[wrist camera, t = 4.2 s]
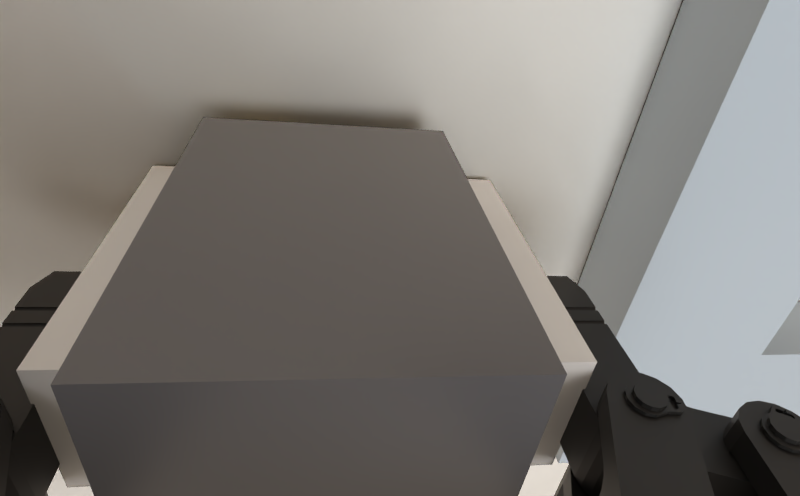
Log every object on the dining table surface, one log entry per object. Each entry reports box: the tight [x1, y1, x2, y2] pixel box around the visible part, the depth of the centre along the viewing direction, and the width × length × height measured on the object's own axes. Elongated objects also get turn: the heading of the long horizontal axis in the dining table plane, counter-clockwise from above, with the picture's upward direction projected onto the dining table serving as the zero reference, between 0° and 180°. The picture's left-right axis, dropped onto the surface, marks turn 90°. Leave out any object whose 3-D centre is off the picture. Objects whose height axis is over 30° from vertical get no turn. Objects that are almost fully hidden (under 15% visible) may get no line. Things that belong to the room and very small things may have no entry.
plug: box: [51, 117, 567, 496], centre depth 10 cm, size 5×6×8 cm
